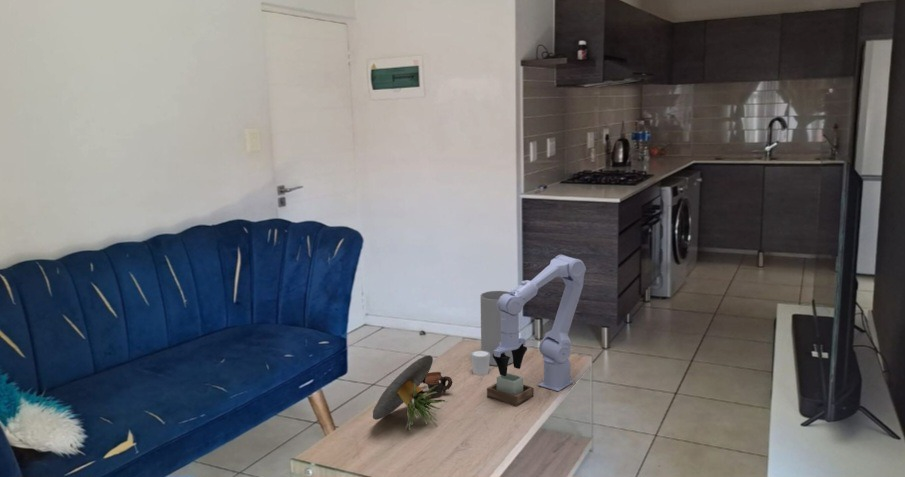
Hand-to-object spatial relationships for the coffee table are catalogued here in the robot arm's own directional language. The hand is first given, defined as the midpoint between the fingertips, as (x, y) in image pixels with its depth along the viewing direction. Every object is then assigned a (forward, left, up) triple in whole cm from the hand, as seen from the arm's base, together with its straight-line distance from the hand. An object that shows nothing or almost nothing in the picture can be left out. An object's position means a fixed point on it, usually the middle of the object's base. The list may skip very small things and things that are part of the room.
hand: (510, 371), depth 227 cm
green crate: (0, 0, -8) cm, 8 cm away
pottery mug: (+12, -22, -9) cm, 27 cm away
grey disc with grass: (+33, -13, -9) cm, 37 cm away
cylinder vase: (-24, -23, -9) cm, 34 cm away
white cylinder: (-11, -21, -9) cm, 25 cm away
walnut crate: (0, 0, -9) cm, 9 cm away
